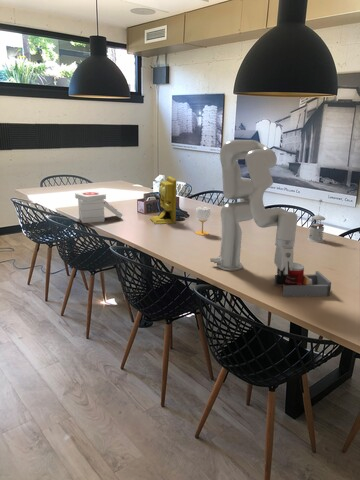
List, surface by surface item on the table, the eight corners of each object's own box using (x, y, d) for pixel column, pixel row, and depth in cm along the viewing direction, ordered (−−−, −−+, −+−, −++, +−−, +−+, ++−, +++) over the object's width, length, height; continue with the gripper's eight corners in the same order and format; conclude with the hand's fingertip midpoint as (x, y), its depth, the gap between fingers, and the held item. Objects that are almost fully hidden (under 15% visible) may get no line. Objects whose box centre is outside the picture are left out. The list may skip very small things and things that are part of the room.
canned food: (297, 286, 170) (300, 262, 167) (304, 293, 163) (307, 269, 160) (280, 286, 170) (282, 262, 167) (285, 293, 162) (288, 269, 159)
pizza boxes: (123, 220, 271) (123, 195, 266) (79, 223, 260) (78, 197, 255) (117, 214, 288) (116, 190, 283) (75, 217, 277) (74, 192, 272)
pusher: (305, 294, 162) (307, 278, 160) (296, 285, 171) (298, 270, 169) (314, 294, 163) (316, 278, 161) (305, 285, 171) (307, 270, 169)
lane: (283, 296, 160) (285, 283, 158) (273, 284, 172) (275, 271, 170) (329, 295, 162) (331, 282, 160) (316, 283, 173) (318, 271, 172)
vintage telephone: (147, 215, 287) (147, 174, 278) (165, 215, 291) (166, 174, 282) (157, 226, 258) (158, 181, 249) (177, 225, 262) (178, 181, 253)
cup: (204, 236, 240) (205, 210, 235) (192, 233, 245) (193, 208, 240) (212, 233, 247) (213, 208, 242) (200, 230, 252) (201, 206, 247)
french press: (305, 240, 236) (310, 199, 229) (309, 236, 246) (314, 196, 239) (322, 243, 232) (328, 201, 225) (325, 238, 242) (331, 198, 235)
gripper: (300, 247, 153) (295, 291, 158) (287, 236, 167) (283, 276, 172) (282, 247, 152) (277, 291, 157) (270, 236, 166) (266, 276, 172)
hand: (280, 283), depth 165 cm, fingers closed
